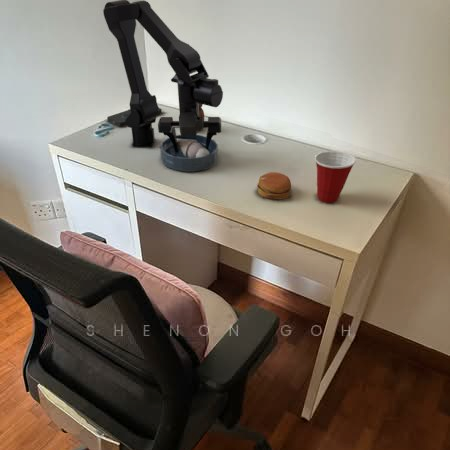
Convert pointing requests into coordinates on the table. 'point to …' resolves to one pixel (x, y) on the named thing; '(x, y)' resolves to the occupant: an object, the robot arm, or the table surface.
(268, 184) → the burger
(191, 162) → the bowl
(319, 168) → the plastic cup
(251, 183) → the table surface
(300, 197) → the table surface
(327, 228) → the table surface
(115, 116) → the smart home device
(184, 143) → the ice cream cone
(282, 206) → the table surface
